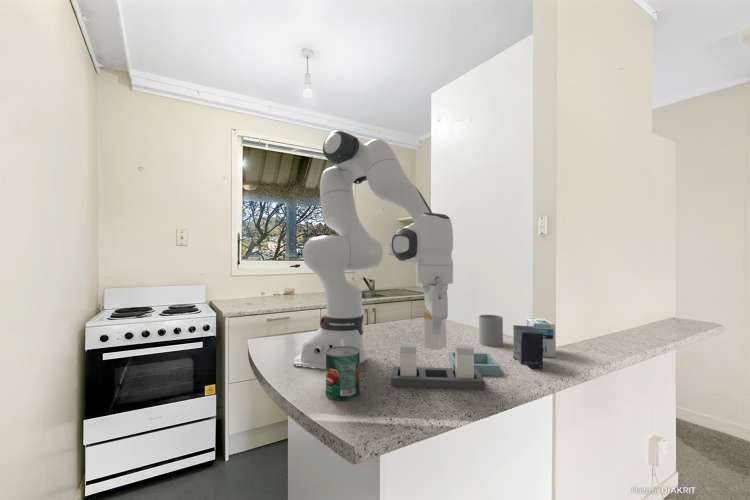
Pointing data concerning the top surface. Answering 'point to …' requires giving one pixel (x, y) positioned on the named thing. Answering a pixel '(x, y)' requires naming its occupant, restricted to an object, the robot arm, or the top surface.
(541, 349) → the small box
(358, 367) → the canned tomato
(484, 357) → the tray
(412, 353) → the block
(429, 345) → the block
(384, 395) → the top surface
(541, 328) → the light bulb box
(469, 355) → the block
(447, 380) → the block
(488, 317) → the cup
